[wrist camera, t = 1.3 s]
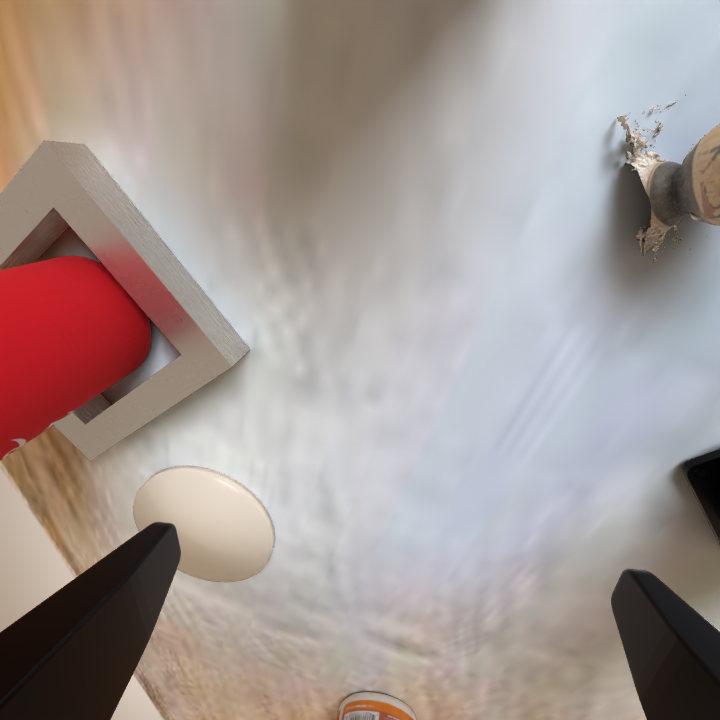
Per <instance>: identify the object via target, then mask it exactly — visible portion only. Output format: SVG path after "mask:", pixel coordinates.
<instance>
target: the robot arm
mask: <svg viewBox="0 0 720 720" xmlns="http://www.w3.org/2000/svg"><path fill="white" fill-rule="evenodd" d="M697 469H699V470H698V471H696V472H694V471H695V470H697ZM682 471H683V473H684V475H685V477H686V479H687V481H688V483H689V485H690V487H691V489H692V491H693V493H694V495H695V497H696V499H697V501H698V503H699V505H700V507H701V509H702V511H703V513H704V515H705V517H706V518H707V520H708V522H709V524H710V526H711V528H712V530H713V532H714V534H715V536H716V538H717V540H718V542H719V544H720V449H719V450H716V451H714V452H711V453H708V454H705V455H702V456H699V457H697V458H694V459H691V460H689V461H687V462H686V463H685V464H684V465H683V467H682ZM180 558H181V548H180V543H179V539H178V534H177V530H176V527H175V525H174V524H172V523H165V522H154V523H152V524H150V525H149V526H147V527H146V528H144V529H143V530H142V531H140V532H139V533H137V534H136V535H135V536H133V537H132V538H131V539H129V540H128V541H126V542H125V543H124V544H122V545H121V546H119V547H118V548H117V549H115V550H114V551H112V552H111V553H110V554H108V555H107V556H106V557H104V558H103V559H101V560H100V561H99V562H97V563H96V564H94V565H93V566H92V567H90V568H89V569H88V570H86V571H85V572H83V573H82V574H81V575H79V576H78V577H76V578H75V579H74V580H72V581H71V582H70V583H68V584H67V585H65V586H64V587H63V588H61V589H60V590H58V591H57V592H56V593H54V594H53V595H52V596H50V597H49V598H47V599H46V600H45V601H43V602H42V603H41V604H39V605H38V606H36V607H35V608H34V609H32V610H31V611H29V612H28V613H27V614H25V615H24V616H22V617H21V618H20V619H18V620H17V621H15V622H14V623H13V624H11V625H10V626H9V627H7V628H6V629H4V630H3V631H2V632H0V720H110V719H111V717H112V715H113V713H114V711H115V709H116V707H117V705H118V703H119V701H120V699H121V697H122V695H123V693H124V691H125V689H126V687H127V685H128V683H129V681H130V679H131V676H132V675H133V673H134V671H135V669H136V667H137V665H138V663H139V661H140V659H141V657H142V654H143V652H144V650H145V648H146V646H147V644H148V642H149V639H150V637H151V634H152V632H153V630H154V627H155V624H156V622H157V619H158V617H159V614H160V611H161V609H162V606H163V604H164V601H165V598H166V596H167V593H168V591H169V588H170V585H171V583H172V580H173V578H174V575H175V572H176V570H177V567H178V565H179V562H180ZM611 605H612V610H613V613H614V617H615V620H616V623H617V627H618V630H619V633H620V637H621V640H622V644H623V647H624V650H625V654H626V657H627V660H628V664H629V667H630V671H631V674H632V677H633V681H634V684H635V687H636V690H637V693H638V696H639V700H640V702H641V705H642V708H643V710H644V713H645V716H646V718H647V720H720V632H719V631H718V630H717V629H716V628H714V627H713V626H712V625H711V624H710V623H709V622H708V621H706V620H705V619H704V618H703V617H702V616H701V615H700V614H698V613H697V612H696V611H695V610H694V609H693V608H691V607H690V606H689V605H688V604H687V603H686V602H685V601H683V600H682V599H681V598H680V597H679V596H678V595H676V594H675V593H674V592H673V591H672V590H671V589H670V588H668V587H667V586H666V585H665V584H664V583H663V582H662V581H660V580H659V579H658V578H657V577H656V576H655V575H653V574H652V573H650V572H648V571H645V570H636V569H626V570H624V571H623V572H622V574H621V576H620V578H619V581H618V583H617V585H616V587H615V589H614V591H613V593H612V598H611Z"/></svg>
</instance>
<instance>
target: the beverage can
mask: <svg viewBox="0 0 720 720" xmlns="http://www.w3.org/2000/svg"><path fill="white" fill-rule="evenodd" d="M150 344H151V328H150V323H149V319H148V316H147V315H146V313H145V312H144V311H143V310H142V309H141V308H140V306H139V305H138V304H137V303H136V302H135V301H134V299H133V298H132V297H131V296H130V295H129V294H128V293H127V291H126V290H125V289H124V288H123V287H122V286H121V284H120V283H119V282H118V281H117V280H116V279H115V278H114V276H113V275H112V274H111V273H110V272H109V271H108V269H107V268H106V267H105V266H104V265H103V264H101V263H99V262H97V261H94V260H91V259H88V258H85V257H79V256H62V257H57V258H53V259H48V260H44V261H39V262H35V263H30V264H26V265H21V266H17V267H12V268H8V269H3V270H0V460H2V459H3V458H5V457H6V456H8V455H9V454H11V453H12V452H14V451H15V450H17V449H18V448H20V447H21V446H23V445H24V444H26V443H27V442H29V441H30V440H32V439H33V438H35V437H36V436H38V435H39V434H41V433H42V432H44V431H45V430H47V429H48V428H50V427H51V426H53V425H54V424H56V423H57V422H59V421H60V420H62V419H63V418H65V417H66V416H68V415H69V414H70V413H72V412H73V411H75V410H76V409H78V408H79V407H81V406H82V405H84V404H85V403H87V402H88V401H90V400H91V399H93V398H94V397H96V396H97V395H99V394H100V393H102V392H103V391H105V390H106V389H108V388H109V387H111V386H112V385H114V384H115V383H117V382H118V381H120V380H121V379H123V378H124V377H126V376H127V375H129V374H130V373H132V372H133V371H135V370H136V369H137V368H139V367H140V366H141V364H142V363H143V362H144V360H145V359H146V357H147V355H148V352H149V349H150Z"/></svg>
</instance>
